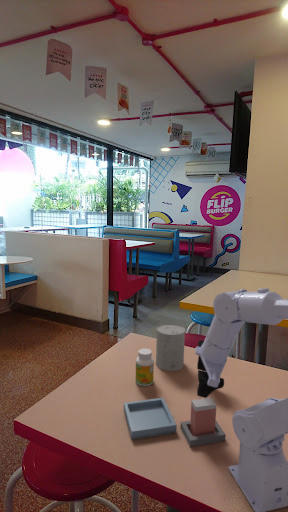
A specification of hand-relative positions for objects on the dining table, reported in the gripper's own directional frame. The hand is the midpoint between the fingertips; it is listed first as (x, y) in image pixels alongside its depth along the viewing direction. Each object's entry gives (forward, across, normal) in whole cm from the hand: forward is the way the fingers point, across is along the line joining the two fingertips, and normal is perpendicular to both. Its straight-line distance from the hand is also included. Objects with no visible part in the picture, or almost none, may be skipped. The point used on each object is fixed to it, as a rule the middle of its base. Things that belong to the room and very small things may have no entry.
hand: (201, 381), depth 71 cm
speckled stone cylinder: (+22, -24, -4) cm, 32 cm away
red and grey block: (+10, +6, +3) cm, 12 cm away
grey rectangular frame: (+9, +6, +3) cm, 12 cm away
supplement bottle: (+19, -12, -12) cm, 26 cm away
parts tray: (+13, +4, -9) cm, 17 cm away
